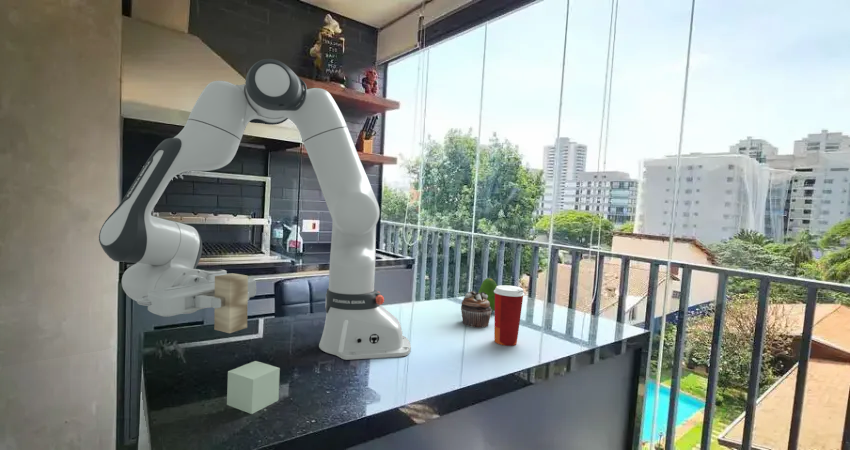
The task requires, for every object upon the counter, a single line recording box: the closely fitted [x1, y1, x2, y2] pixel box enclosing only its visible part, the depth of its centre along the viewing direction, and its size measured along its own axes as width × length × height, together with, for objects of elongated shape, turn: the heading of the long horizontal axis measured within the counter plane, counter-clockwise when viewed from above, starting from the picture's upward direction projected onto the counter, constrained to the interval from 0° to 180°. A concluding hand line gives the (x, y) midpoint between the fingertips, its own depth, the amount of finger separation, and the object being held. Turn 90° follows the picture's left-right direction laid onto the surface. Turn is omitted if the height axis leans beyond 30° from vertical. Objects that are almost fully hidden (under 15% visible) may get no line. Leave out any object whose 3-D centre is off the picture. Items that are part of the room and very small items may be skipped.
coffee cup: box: [493, 284, 525, 347], centre depth 119 cm, size 8×8×15 cm
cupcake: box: [460, 290, 493, 329], centre depth 135 cm, size 10×10×10 cm
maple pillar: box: [213, 272, 249, 334], centre depth 82 cm, size 4×4×10 cm
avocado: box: [477, 277, 498, 312], centre depth 150 cm, size 8×8×12 cm
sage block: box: [226, 360, 281, 415], centre depth 77 cm, size 6×6×6 cm
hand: (234, 300), depth 81 cm, fingers closed on maple pillar, 4 cm apart
